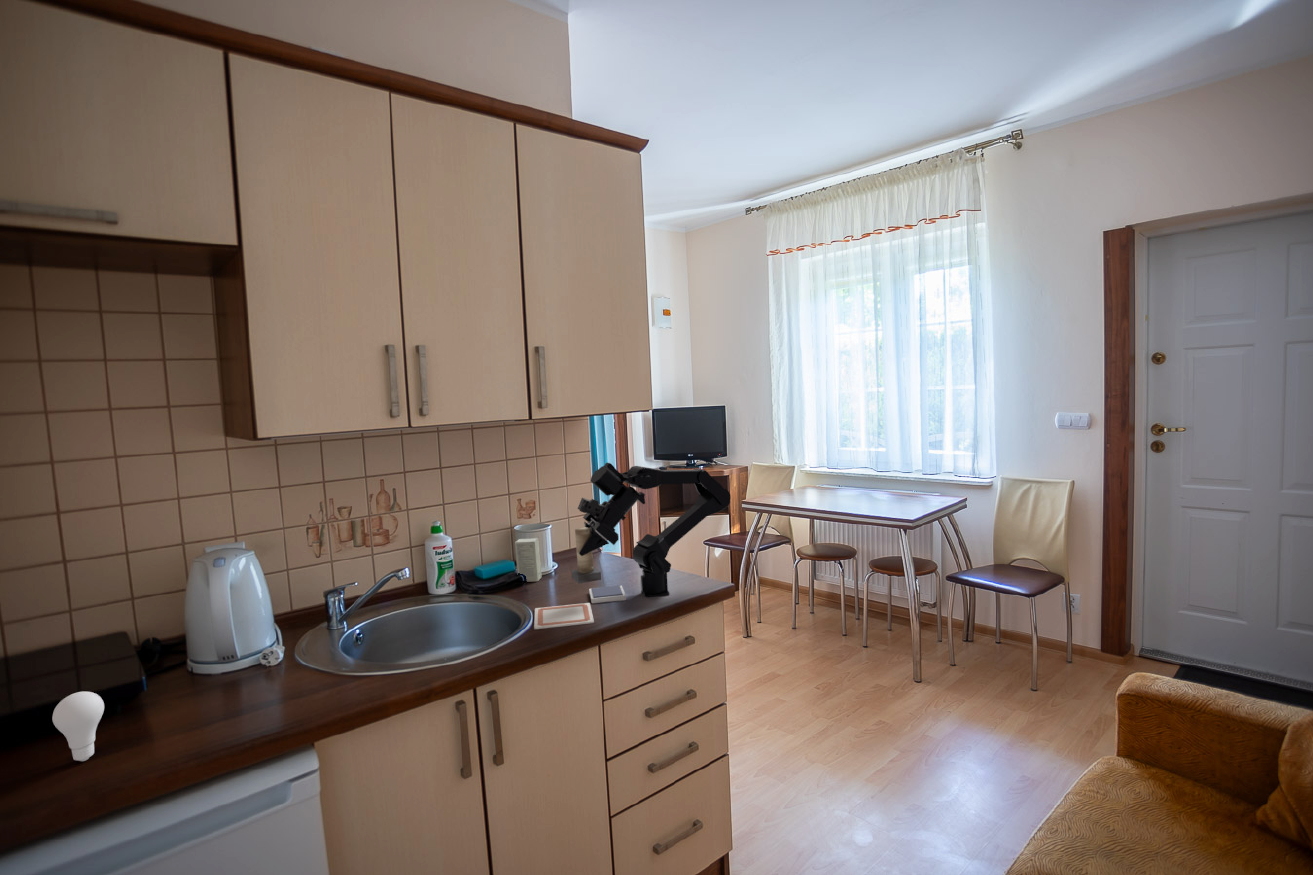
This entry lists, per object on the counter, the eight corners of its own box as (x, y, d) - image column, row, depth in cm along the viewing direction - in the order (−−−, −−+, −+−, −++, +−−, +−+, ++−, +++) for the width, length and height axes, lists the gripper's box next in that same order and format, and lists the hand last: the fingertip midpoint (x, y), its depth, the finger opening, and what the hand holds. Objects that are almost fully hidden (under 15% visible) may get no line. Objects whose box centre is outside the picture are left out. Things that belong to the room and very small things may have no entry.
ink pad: (621, 589, 178) (621, 584, 177) (626, 599, 169) (625, 594, 169) (589, 592, 176) (589, 587, 176) (591, 603, 167) (591, 597, 167)
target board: (589, 604, 167) (589, 602, 167) (594, 622, 153) (593, 620, 153) (535, 609, 164) (534, 607, 164) (534, 629, 151) (534, 627, 150)
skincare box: (542, 577, 193) (539, 537, 192) (537, 581, 189) (535, 541, 188) (521, 577, 194) (519, 538, 193) (517, 582, 190) (514, 541, 189)
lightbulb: (49, 767, 101) (41, 699, 100) (95, 746, 106) (87, 682, 106) (73, 774, 98) (64, 705, 98) (118, 752, 104) (111, 687, 103)
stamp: (593, 573, 170) (590, 525, 169) (601, 579, 165) (597, 529, 164) (572, 577, 168) (568, 528, 167) (578, 583, 162) (574, 533, 161)
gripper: (588, 482, 174) (550, 526, 172) (603, 491, 157) (560, 540, 154) (618, 508, 177) (581, 552, 175) (636, 519, 159) (594, 569, 157)
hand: (578, 552), depth 165 cm, fingers closed on stamp, 4 cm apart
